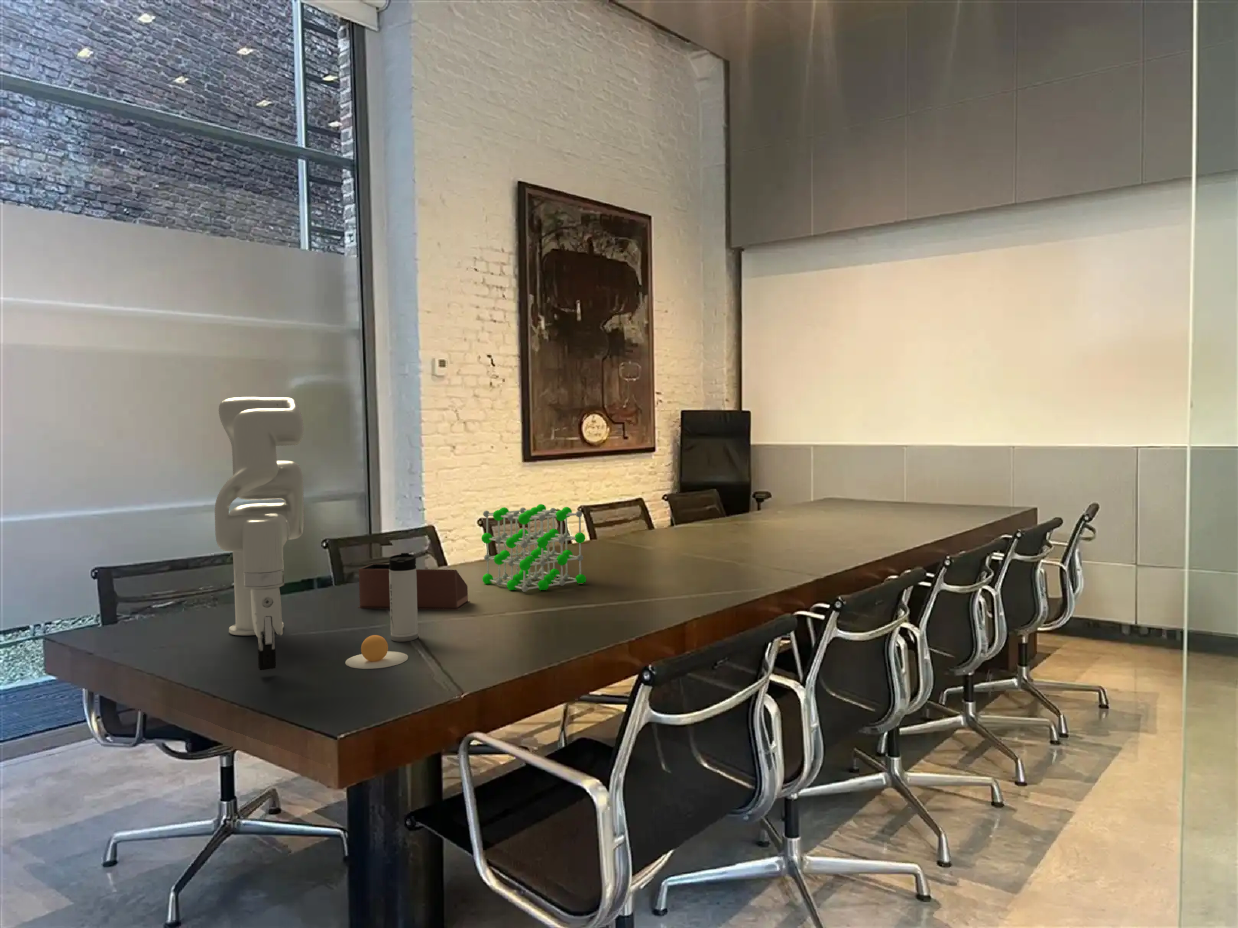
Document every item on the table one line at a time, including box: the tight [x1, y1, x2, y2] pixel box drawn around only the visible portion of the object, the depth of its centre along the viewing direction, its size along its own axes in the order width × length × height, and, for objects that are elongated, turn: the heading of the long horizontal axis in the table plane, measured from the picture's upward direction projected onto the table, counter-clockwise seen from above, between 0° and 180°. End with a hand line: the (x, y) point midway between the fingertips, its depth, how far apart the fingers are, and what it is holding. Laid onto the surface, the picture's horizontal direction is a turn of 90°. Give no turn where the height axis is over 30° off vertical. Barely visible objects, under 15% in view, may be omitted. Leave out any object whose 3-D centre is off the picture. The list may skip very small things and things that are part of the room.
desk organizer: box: [357, 563, 471, 611], centre depth 242 cm, size 10×29×11 cm, turn 82°
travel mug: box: [388, 552, 419, 643], centre depth 204 cm, size 6×7×20 cm
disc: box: [344, 650, 409, 670], centre depth 185 cm, size 13×13×1 cm
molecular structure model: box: [480, 503, 587, 593], centre depth 271 cm, size 24×25×24 cm
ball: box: [360, 634, 389, 662], centre depth 184 cm, size 6×6×6 cm
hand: (267, 668), depth 175 cm, fingers closed
